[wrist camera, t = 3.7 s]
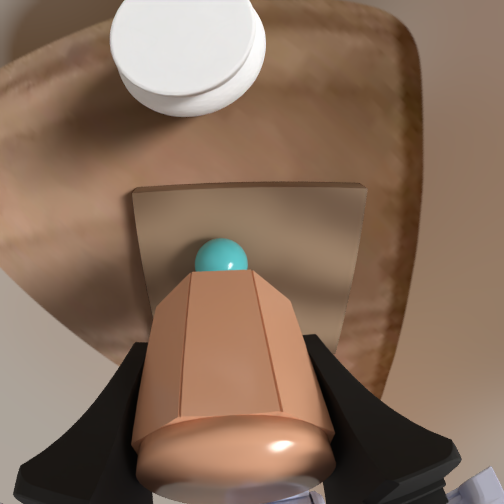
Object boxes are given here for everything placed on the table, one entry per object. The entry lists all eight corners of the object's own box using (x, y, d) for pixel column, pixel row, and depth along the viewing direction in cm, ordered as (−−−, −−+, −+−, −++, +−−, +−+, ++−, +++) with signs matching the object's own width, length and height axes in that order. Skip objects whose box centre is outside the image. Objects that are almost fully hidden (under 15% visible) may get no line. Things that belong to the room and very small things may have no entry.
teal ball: (245, 272, 20) (250, 300, 17) (197, 274, 19) (195, 302, 17) (245, 228, 18) (250, 252, 16) (194, 230, 18) (191, 254, 15)
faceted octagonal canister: (283, 364, 14) (316, 496, 8) (170, 370, 14) (161, 505, 8) (294, 267, 12) (359, 426, 6) (149, 273, 11) (105, 441, 5)
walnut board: (331, 344, 26) (335, 353, 24) (166, 355, 24) (164, 365, 23) (359, 183, 19) (367, 188, 18) (136, 187, 18) (131, 193, 17)
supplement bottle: (135, 88, 15) (54, 83, 6) (182, 10, 13) (151, -69, 4) (218, 127, 17) (219, 156, 8) (265, 50, 15) (318, 0, 6)
